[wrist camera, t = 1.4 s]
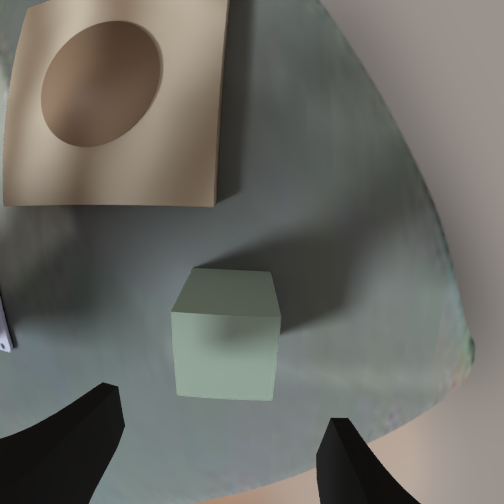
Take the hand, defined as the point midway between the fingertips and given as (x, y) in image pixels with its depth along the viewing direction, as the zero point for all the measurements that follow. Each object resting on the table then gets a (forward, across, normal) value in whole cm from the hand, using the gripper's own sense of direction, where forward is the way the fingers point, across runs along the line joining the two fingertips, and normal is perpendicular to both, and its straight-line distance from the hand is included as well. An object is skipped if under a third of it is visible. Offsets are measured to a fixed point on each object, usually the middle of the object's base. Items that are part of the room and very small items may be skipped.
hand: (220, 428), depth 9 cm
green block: (+10, +1, 0) cm, 10 cm away
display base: (+9, +10, -12) cm, 18 cm away
